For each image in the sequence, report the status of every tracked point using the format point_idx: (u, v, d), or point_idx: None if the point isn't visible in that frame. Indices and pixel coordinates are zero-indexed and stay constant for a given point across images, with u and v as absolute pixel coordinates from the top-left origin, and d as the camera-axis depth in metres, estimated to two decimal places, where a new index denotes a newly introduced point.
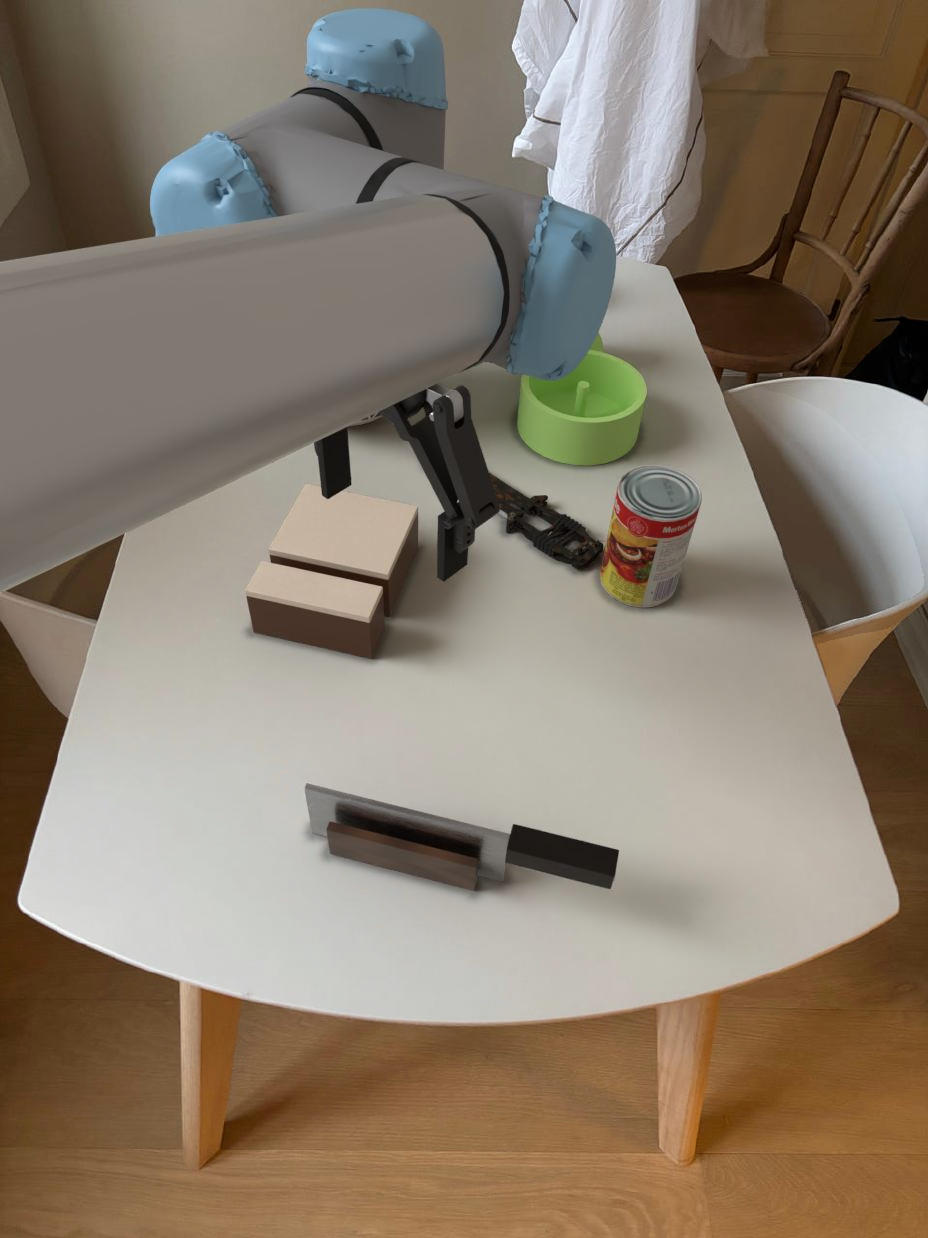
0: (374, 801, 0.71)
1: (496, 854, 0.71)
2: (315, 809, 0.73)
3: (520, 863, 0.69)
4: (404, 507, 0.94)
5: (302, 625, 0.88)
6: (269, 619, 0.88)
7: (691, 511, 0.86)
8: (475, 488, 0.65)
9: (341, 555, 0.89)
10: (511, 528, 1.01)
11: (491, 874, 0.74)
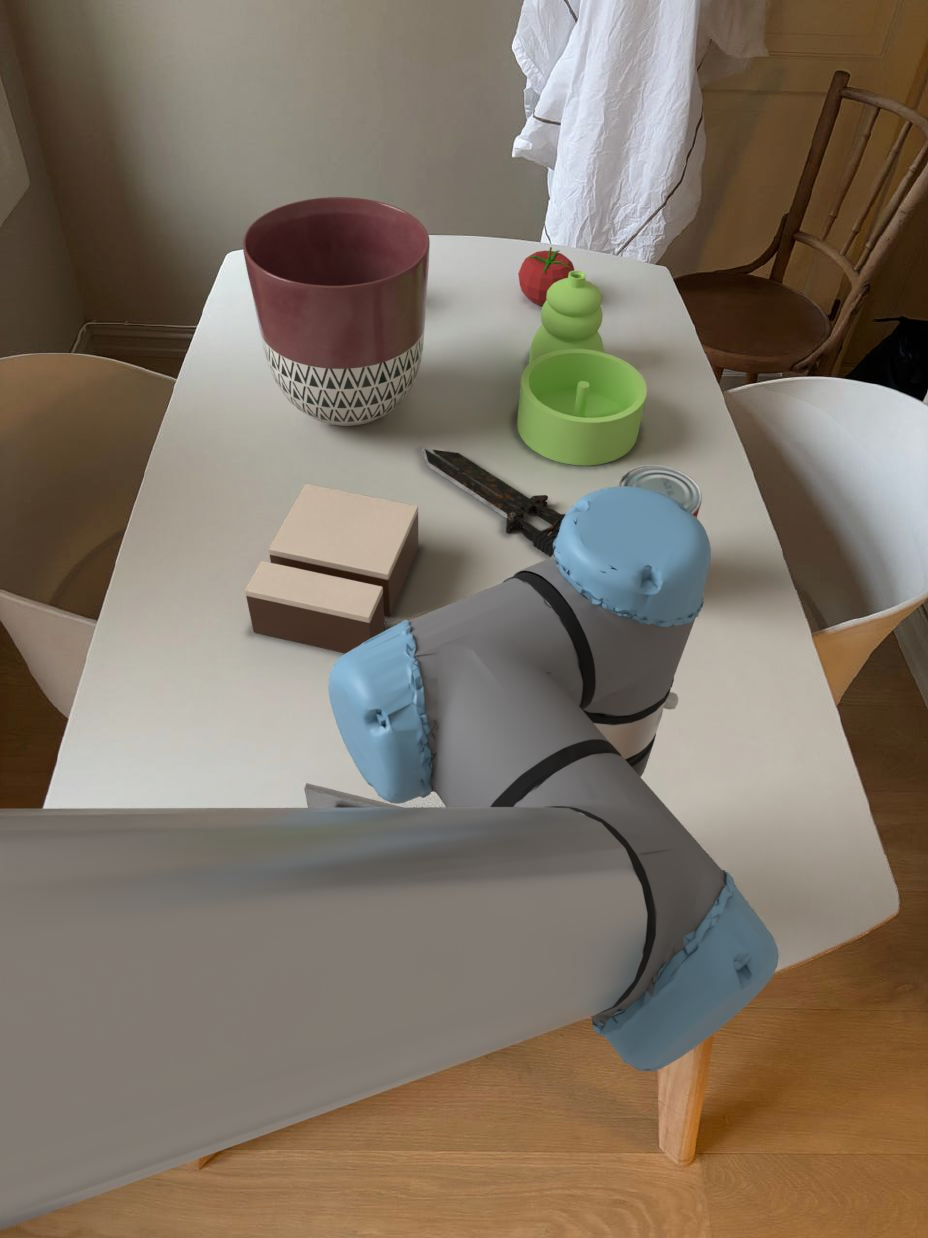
0: (374, 801, 0.71)
1: None
2: None
3: None
4: (404, 507, 0.94)
5: (302, 625, 0.88)
6: (269, 619, 0.88)
7: (691, 511, 0.86)
8: None
9: (341, 555, 0.89)
10: (511, 528, 1.01)
11: None
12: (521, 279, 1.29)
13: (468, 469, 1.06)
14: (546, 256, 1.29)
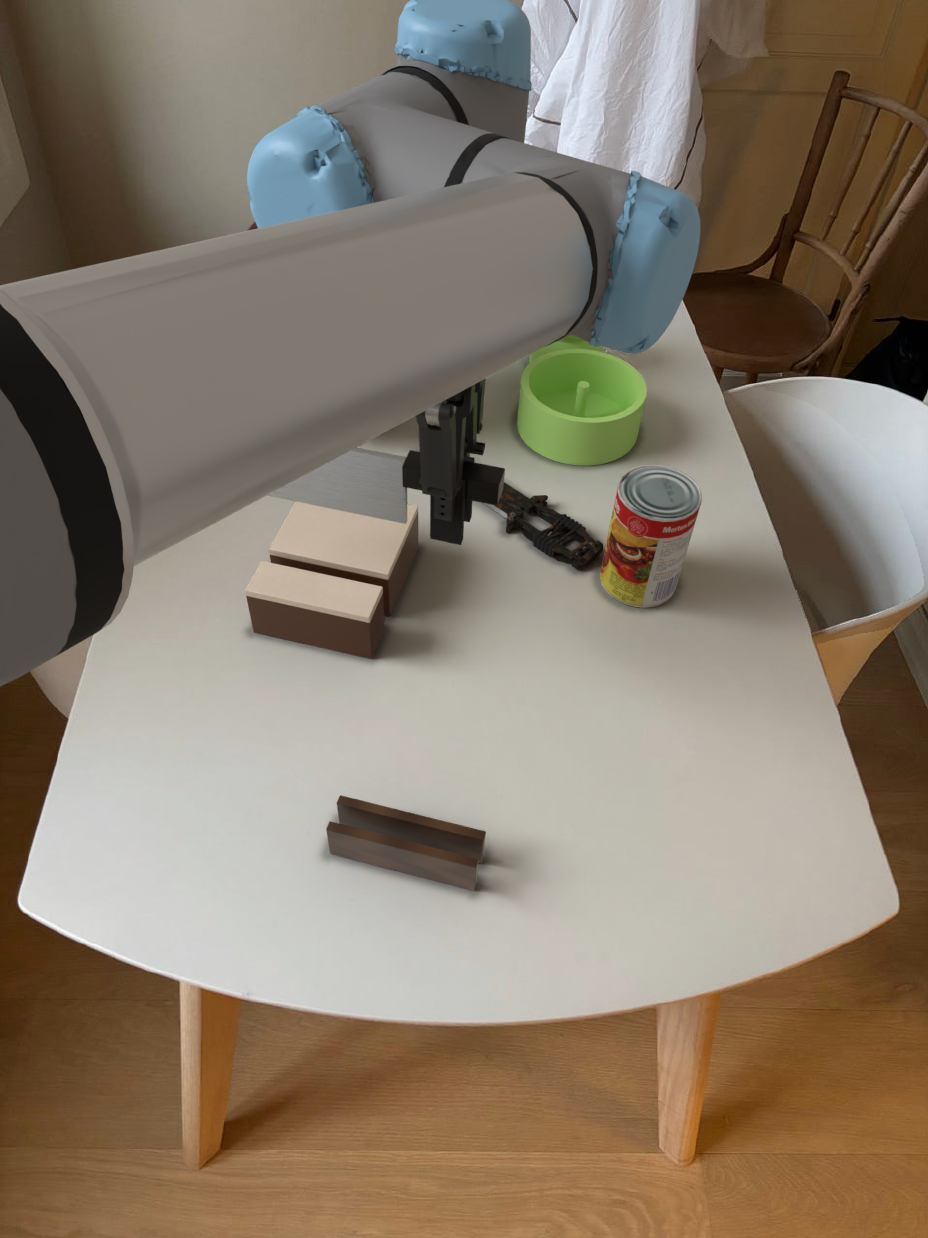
0: None
1: (396, 484, 0.78)
2: None
3: (415, 484, 0.76)
4: None
5: (302, 625, 0.88)
6: (269, 619, 0.88)
7: (691, 511, 0.86)
8: (431, 473, 0.69)
9: (341, 555, 0.89)
10: (511, 528, 1.01)
11: (395, 514, 0.80)
12: None
13: None
14: None
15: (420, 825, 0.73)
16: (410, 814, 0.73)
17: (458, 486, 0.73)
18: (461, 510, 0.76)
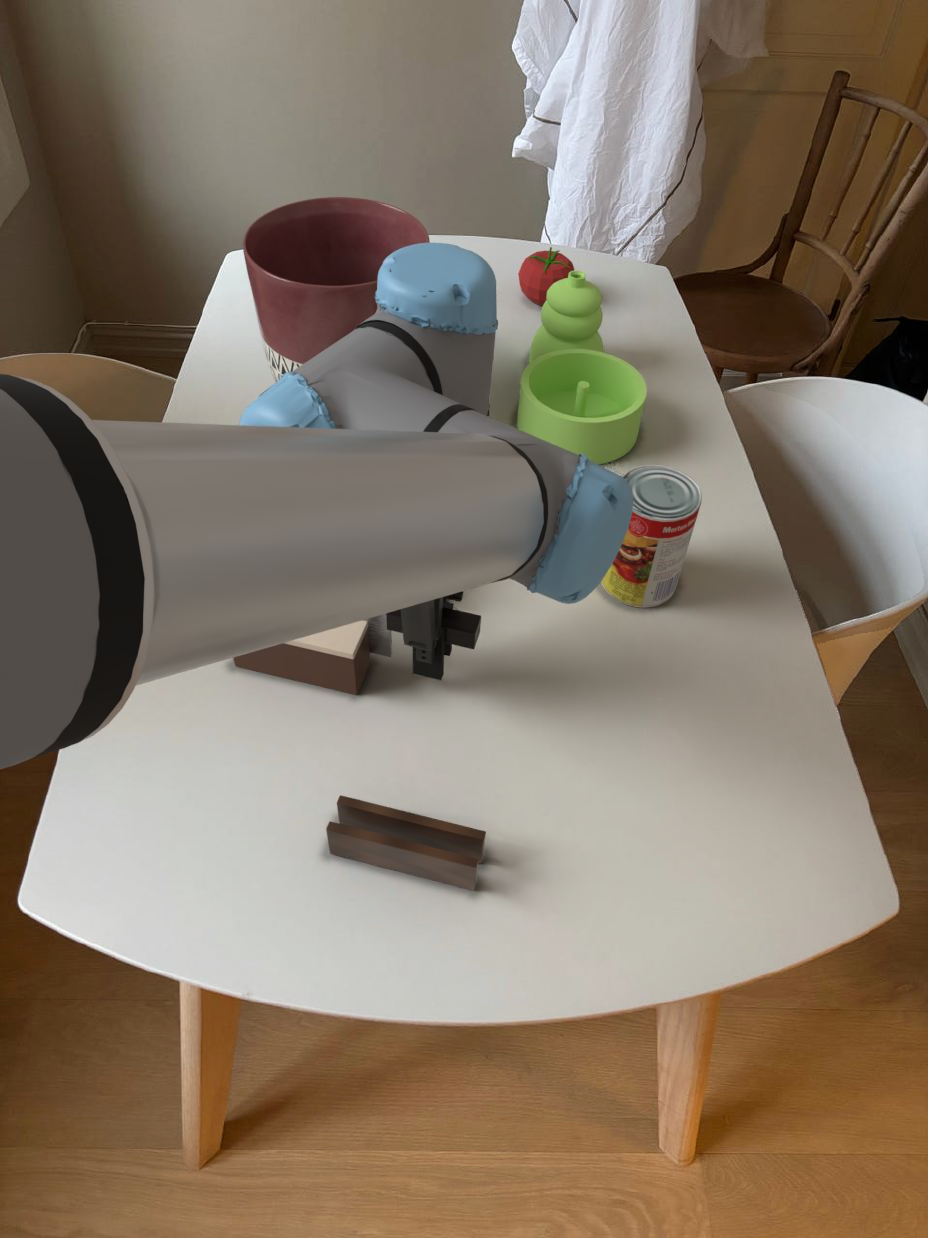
0: None
1: (381, 625, 0.84)
2: None
3: (399, 628, 0.82)
4: None
5: (285, 660, 0.85)
6: (250, 654, 0.85)
7: (691, 511, 0.86)
8: (412, 630, 0.76)
9: None
10: None
11: (380, 648, 0.86)
12: (521, 279, 1.29)
13: None
14: (546, 256, 1.29)
15: (420, 825, 0.73)
16: (410, 814, 0.73)
17: (437, 636, 0.79)
18: (441, 653, 0.82)
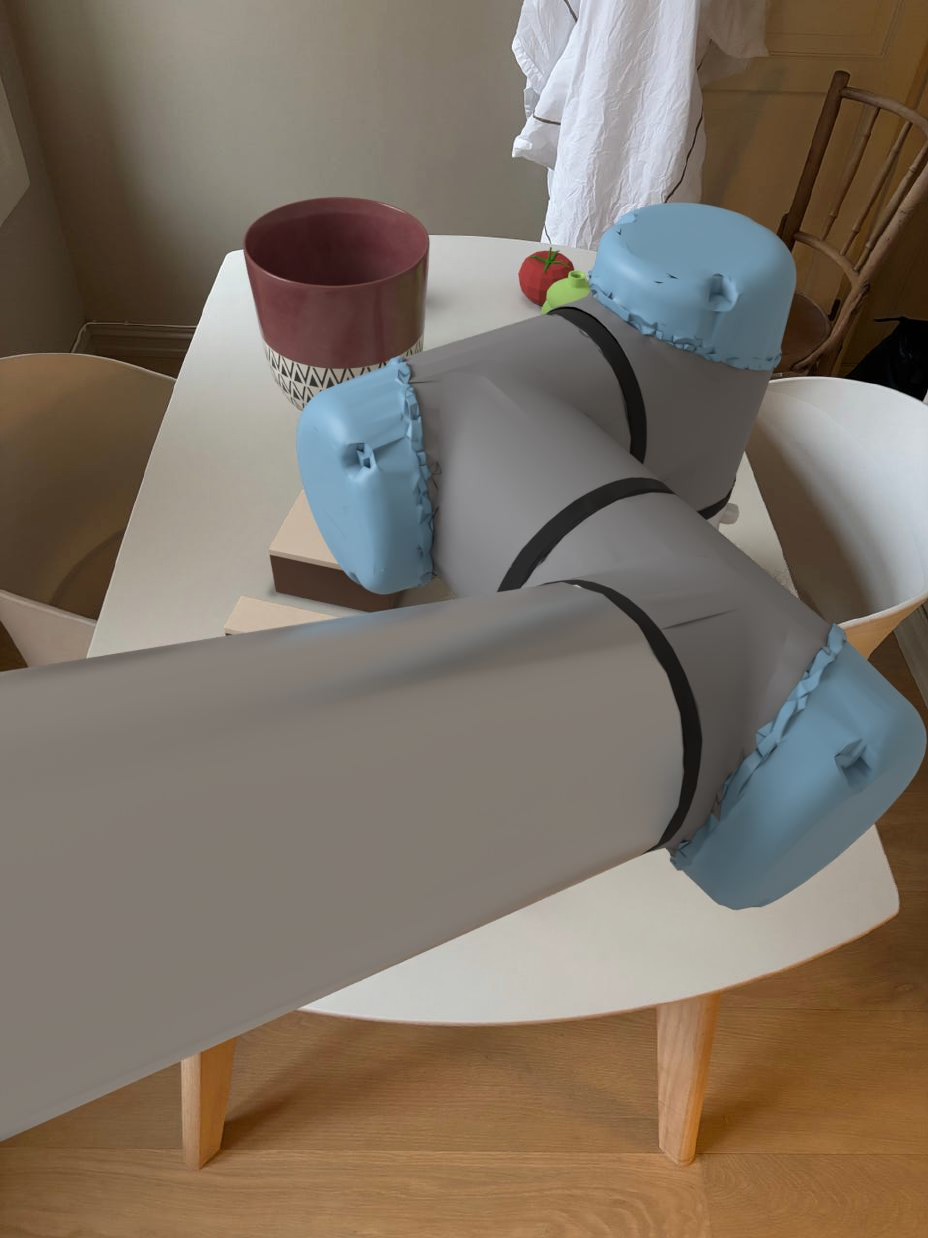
0: None
1: None
2: None
3: None
4: None
5: None
6: None
7: None
8: None
9: None
10: None
11: None
12: (521, 279, 1.29)
13: None
14: (546, 256, 1.29)
15: None
16: None
17: None
18: None
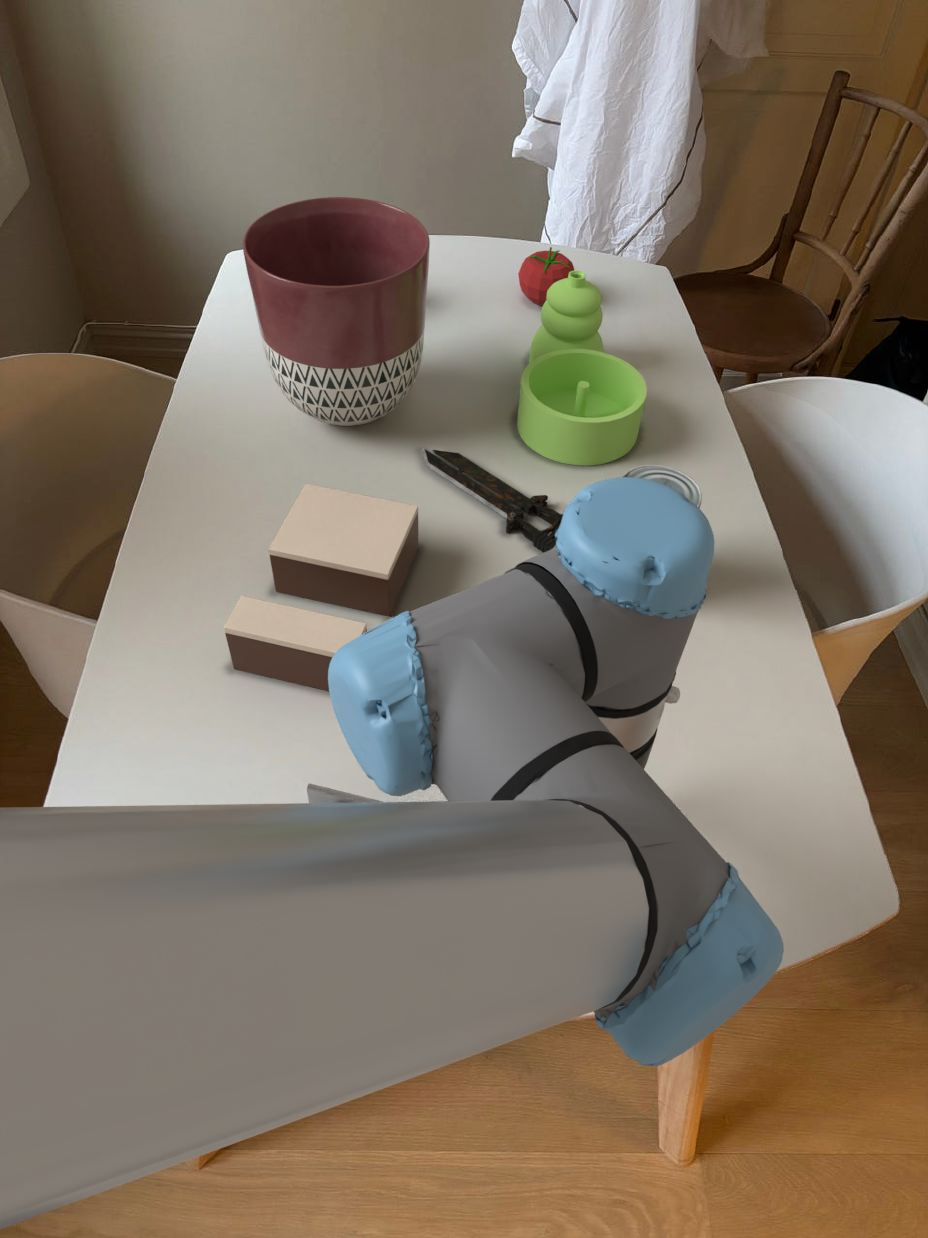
0: (376, 801, 0.71)
1: None
2: None
3: None
4: (404, 507, 0.94)
5: (284, 663, 0.85)
6: (249, 656, 0.85)
7: None
8: None
9: (341, 555, 0.89)
10: (511, 528, 1.01)
11: None
12: (521, 279, 1.29)
13: (468, 469, 1.06)
14: (546, 256, 1.29)
15: None
16: None
17: None
18: None
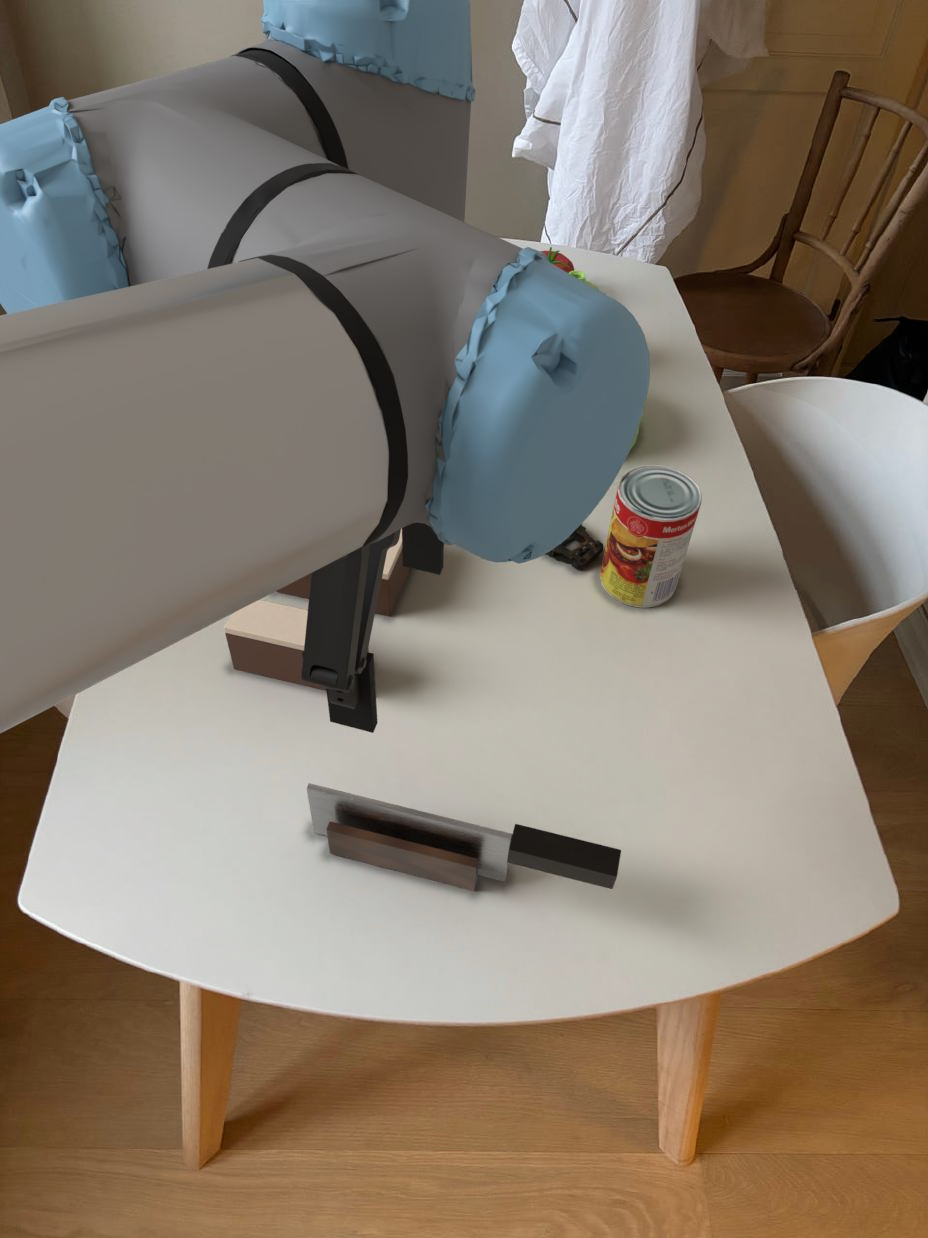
0: (376, 801, 0.71)
1: (498, 854, 0.71)
2: (317, 809, 0.73)
3: (522, 863, 0.69)
4: None
5: (284, 663, 0.85)
6: (249, 656, 0.85)
7: (691, 511, 0.86)
8: (321, 638, 0.47)
9: None
10: None
11: (493, 873, 0.74)
12: None
13: None
14: None
15: None
16: None
17: (359, 663, 0.49)
18: (369, 693, 0.52)
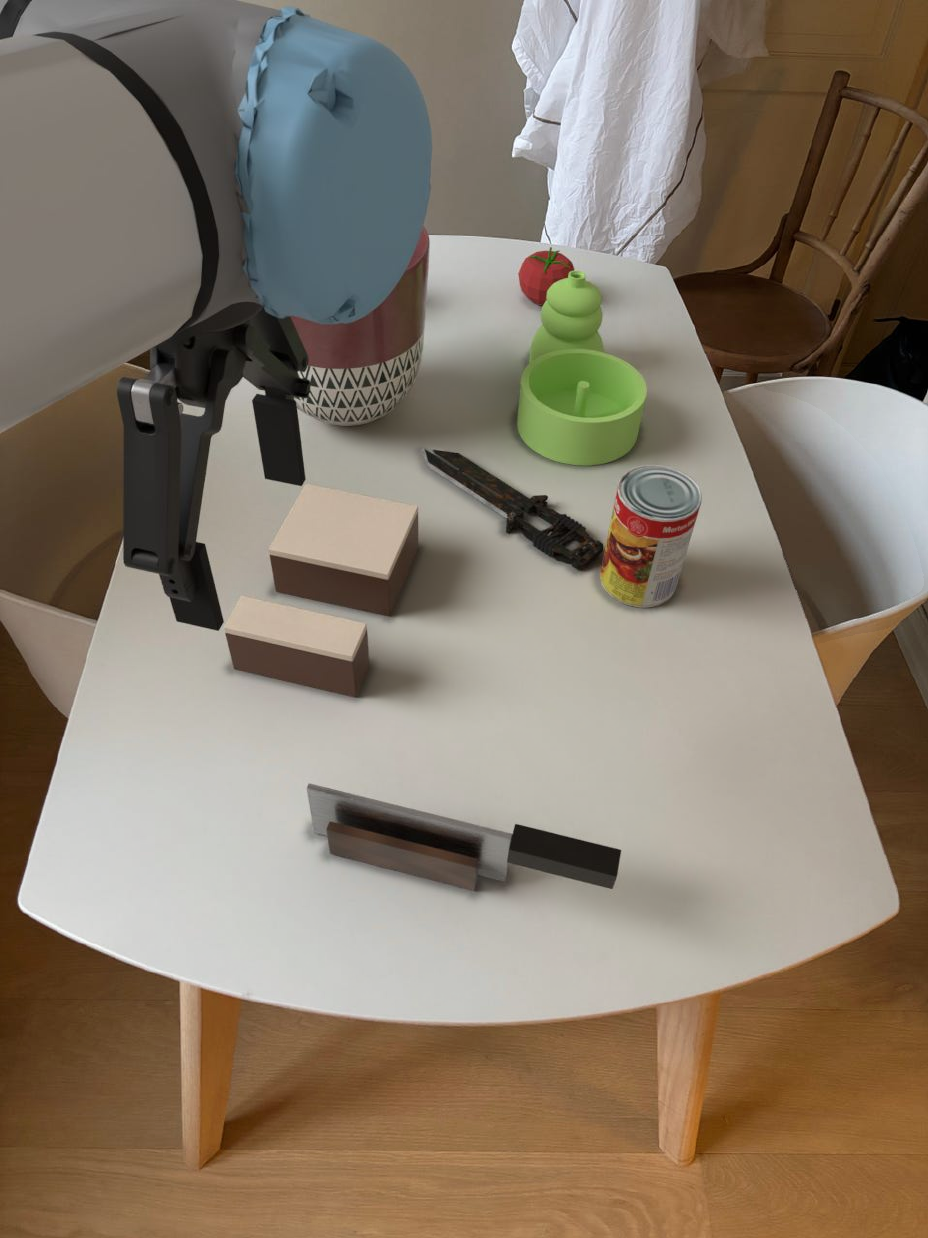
0: (376, 801, 0.71)
1: (498, 854, 0.71)
2: (317, 809, 0.73)
3: (522, 863, 0.69)
4: (404, 507, 0.94)
5: (284, 663, 0.85)
6: (249, 656, 0.85)
7: (691, 511, 0.86)
8: (138, 519, 0.47)
9: (341, 555, 0.89)
10: (511, 528, 1.01)
11: (493, 873, 0.74)
12: (521, 279, 1.29)
13: (468, 469, 1.06)
14: (546, 256, 1.29)
15: None
16: None
17: (185, 550, 0.49)
18: (206, 586, 0.53)
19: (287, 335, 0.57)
